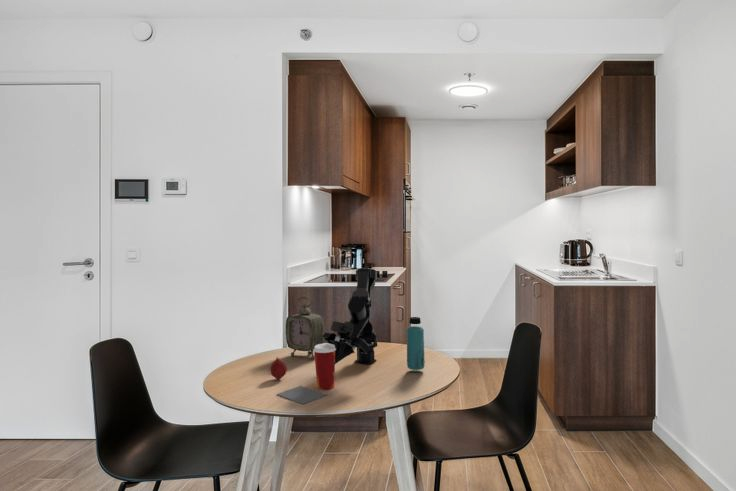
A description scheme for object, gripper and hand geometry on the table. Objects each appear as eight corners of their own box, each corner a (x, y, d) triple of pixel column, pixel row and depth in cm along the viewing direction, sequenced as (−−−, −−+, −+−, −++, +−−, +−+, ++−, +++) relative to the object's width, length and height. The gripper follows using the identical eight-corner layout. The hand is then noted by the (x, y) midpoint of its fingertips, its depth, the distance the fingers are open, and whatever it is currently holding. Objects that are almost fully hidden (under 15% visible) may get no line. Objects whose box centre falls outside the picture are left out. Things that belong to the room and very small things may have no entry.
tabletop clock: (286, 356, 195) (284, 297, 194) (300, 351, 203) (298, 294, 202) (313, 361, 188) (311, 299, 187) (327, 355, 195) (325, 296, 194)
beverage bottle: (424, 374, 168) (423, 319, 167) (405, 373, 169) (405, 318, 168) (425, 369, 174) (425, 315, 173) (407, 368, 175) (407, 315, 174)
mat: (276, 394, 150) (276, 394, 150) (300, 386, 158) (300, 385, 158) (303, 404, 142) (303, 403, 142) (327, 395, 149) (327, 394, 149)
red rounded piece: (289, 377, 168) (289, 355, 167) (281, 382, 162) (281, 360, 162) (275, 376, 170) (274, 354, 169) (267, 381, 164) (266, 358, 164)
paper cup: (341, 386, 157) (340, 345, 157) (324, 392, 152) (323, 350, 151) (326, 381, 162) (325, 341, 162) (309, 387, 157) (308, 346, 156)
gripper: (325, 309, 169) (302, 345, 161) (362, 315, 156) (339, 354, 148) (342, 327, 175) (320, 363, 167) (379, 334, 162) (357, 373, 154)
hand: (333, 363), depth 159 cm, fingers closed
